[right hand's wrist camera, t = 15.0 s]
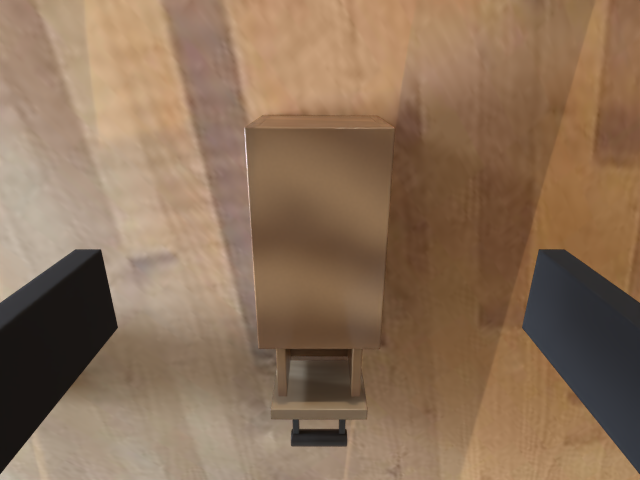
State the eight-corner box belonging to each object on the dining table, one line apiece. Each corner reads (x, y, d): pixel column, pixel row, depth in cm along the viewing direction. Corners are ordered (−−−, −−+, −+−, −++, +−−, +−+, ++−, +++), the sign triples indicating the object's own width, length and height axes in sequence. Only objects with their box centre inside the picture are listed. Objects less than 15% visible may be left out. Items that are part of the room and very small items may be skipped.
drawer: (358, 408, 46) (364, 463, 40) (280, 408, 46) (273, 462, 40) (367, 224, 38) (376, 255, 32) (272, 224, 38) (262, 254, 32)
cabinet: (368, 295, 42) (380, 349, 34) (270, 295, 42) (258, 349, 34) (377, 115, 35) (395, 127, 27) (261, 115, 35) (244, 127, 27)
